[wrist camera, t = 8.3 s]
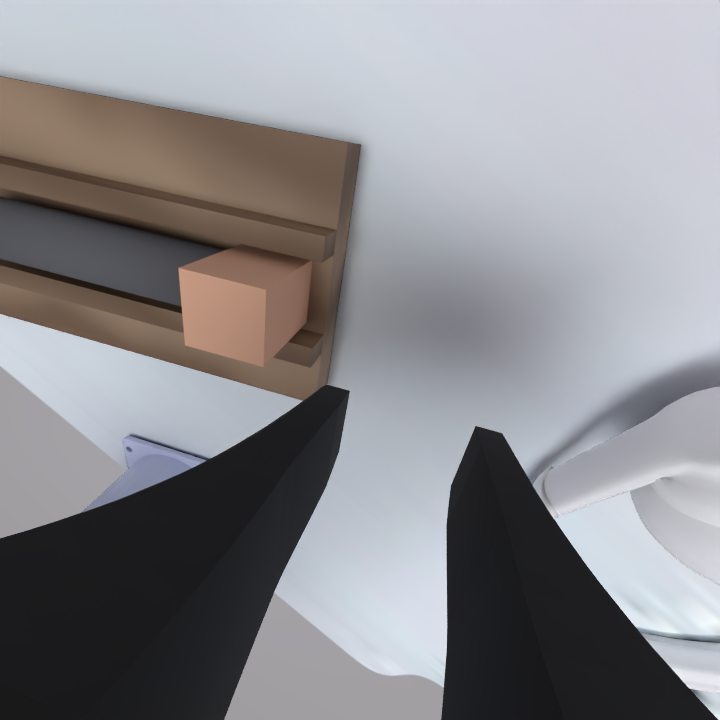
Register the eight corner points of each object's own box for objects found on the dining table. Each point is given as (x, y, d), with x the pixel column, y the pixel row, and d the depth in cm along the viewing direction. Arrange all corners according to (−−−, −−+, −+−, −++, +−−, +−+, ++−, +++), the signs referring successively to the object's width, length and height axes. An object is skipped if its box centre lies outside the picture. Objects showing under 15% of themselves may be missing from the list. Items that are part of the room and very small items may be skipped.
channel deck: (326, 384, 21) (304, 421, 18) (-22, 287, 24) (-90, 305, 21) (360, 144, 15) (335, 140, 12) (-107, 56, 18) (-218, 36, 15)
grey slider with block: (306, 322, 17) (263, 367, 14) (12, 246, 20) (-96, 267, 16) (312, 259, 16) (266, 289, 12) (-8, 184, 18) (-131, 190, 14)
